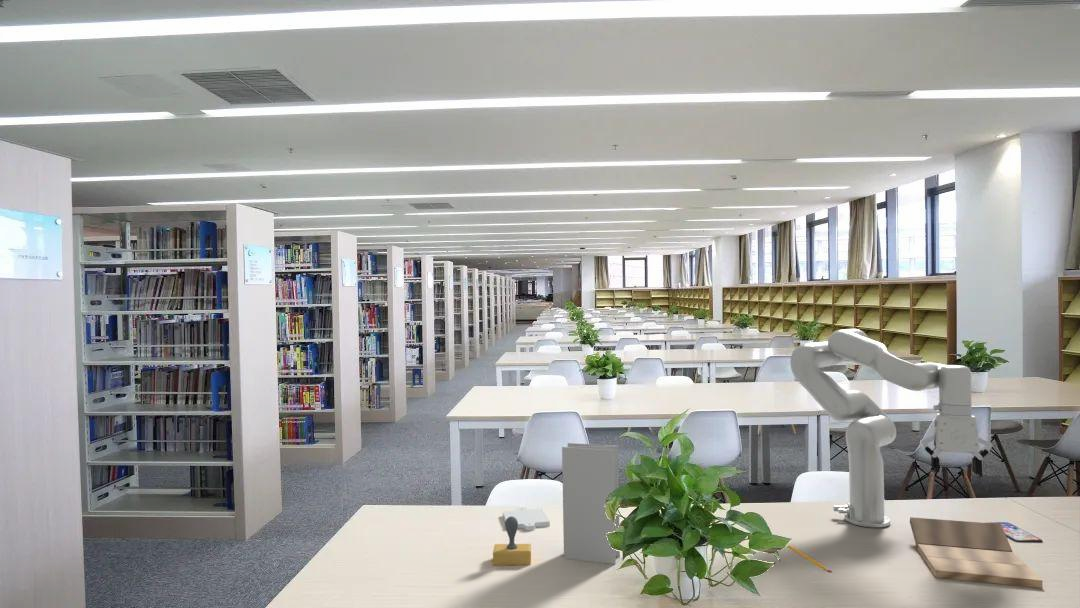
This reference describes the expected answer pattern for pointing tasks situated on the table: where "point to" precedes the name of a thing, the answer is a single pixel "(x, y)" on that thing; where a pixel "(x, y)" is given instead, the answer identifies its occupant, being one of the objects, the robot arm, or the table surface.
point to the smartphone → (1017, 533)
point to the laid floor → (978, 565)
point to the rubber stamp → (512, 548)
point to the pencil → (809, 558)
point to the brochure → (588, 501)
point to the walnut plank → (959, 534)
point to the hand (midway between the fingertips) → (955, 472)
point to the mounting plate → (528, 518)
